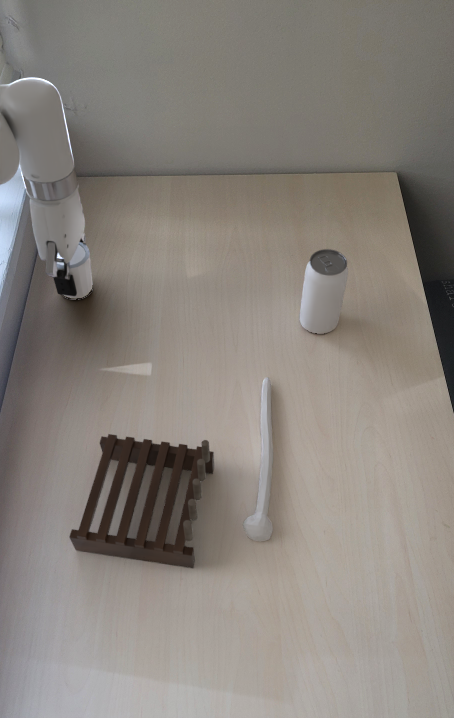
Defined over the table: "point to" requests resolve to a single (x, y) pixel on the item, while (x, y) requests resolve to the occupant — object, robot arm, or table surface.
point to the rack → (159, 457)
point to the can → (323, 291)
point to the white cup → (80, 270)
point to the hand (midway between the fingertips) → (74, 277)
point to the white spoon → (263, 473)
